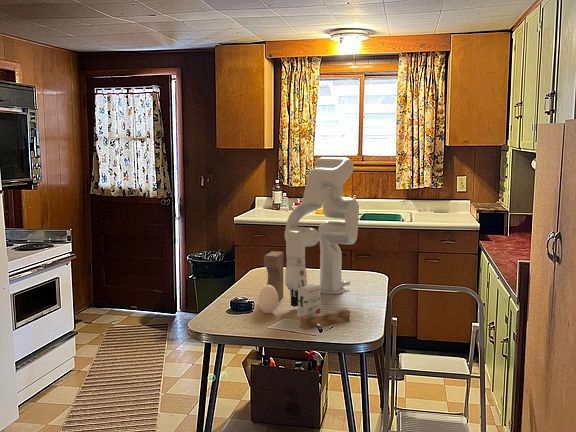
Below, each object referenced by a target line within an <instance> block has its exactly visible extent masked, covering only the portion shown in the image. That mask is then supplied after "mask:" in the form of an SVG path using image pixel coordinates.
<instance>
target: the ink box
mask: <svg viewBox="0 0 576 432" xmlns="http://www.w3.org/2000/svg"><path fill="white" fill-rule="evenodd" d="M317 313H321V293H320V284H313V283H310V284H307V285H306V286H303V287H300V288H298V306H297V318H300V316H305V315H311V314H317Z"/></svg>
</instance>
